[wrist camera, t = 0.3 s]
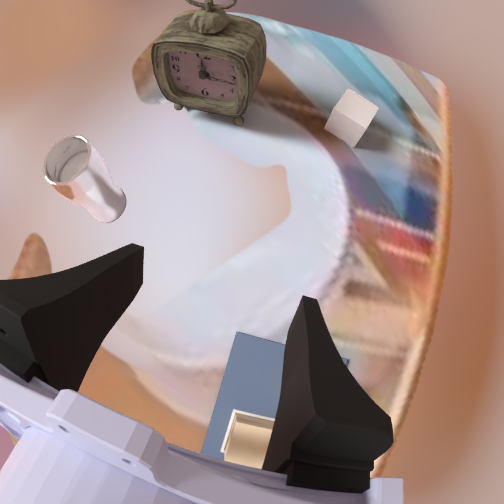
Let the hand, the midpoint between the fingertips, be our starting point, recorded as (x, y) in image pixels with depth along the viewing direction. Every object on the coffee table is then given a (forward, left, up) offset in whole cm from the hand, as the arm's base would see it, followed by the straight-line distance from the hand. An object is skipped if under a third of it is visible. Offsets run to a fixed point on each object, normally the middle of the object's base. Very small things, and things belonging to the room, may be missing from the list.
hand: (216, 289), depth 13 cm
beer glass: (+10, +22, -30) cm, 38 cm away
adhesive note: (+35, -11, -30) cm, 47 cm away
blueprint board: (-13, -10, -30) cm, 34 cm away
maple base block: (-16, -8, -29) cm, 34 cm away
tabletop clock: (+32, +12, -30) cm, 45 cm away
